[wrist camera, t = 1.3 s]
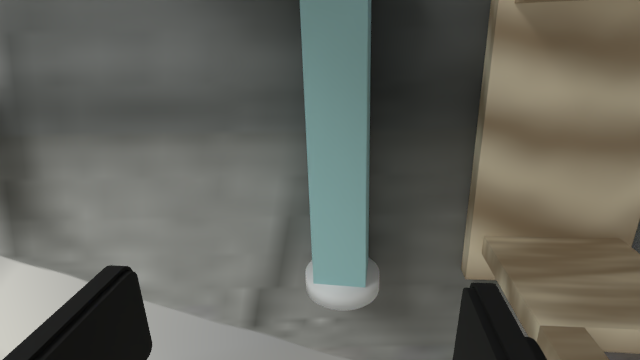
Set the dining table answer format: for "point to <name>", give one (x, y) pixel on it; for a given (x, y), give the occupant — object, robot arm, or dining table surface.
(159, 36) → the dining table surface
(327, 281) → the teal long bar
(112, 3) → the dining table surface
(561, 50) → the stand
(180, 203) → the dining table surface
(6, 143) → the dining table surface
